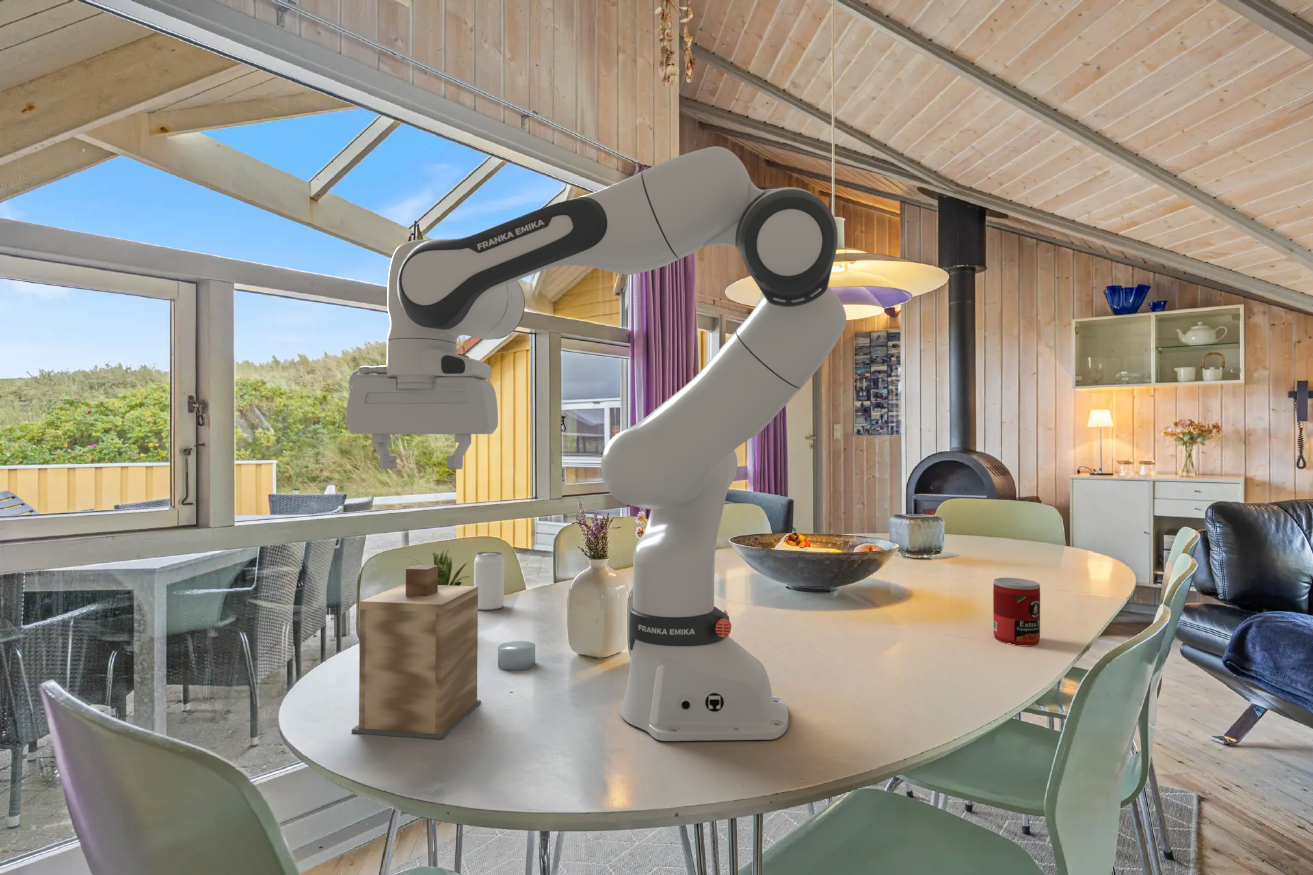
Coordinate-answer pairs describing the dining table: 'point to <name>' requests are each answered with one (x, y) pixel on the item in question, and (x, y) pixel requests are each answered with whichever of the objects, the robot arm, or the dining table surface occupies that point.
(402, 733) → the felt mat
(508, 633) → the dining table surface
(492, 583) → the can
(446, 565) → the house plant
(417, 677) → the oak cover
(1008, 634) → the canned food
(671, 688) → the robot arm
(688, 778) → the dining table surface
